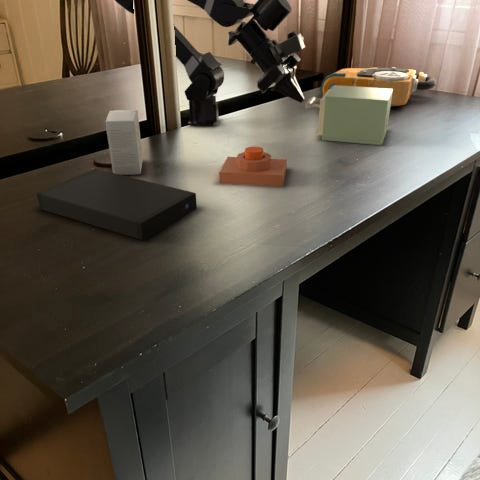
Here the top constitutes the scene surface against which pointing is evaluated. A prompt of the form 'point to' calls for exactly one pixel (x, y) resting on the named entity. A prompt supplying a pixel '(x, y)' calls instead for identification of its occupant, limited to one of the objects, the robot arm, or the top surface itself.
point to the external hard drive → (118, 203)
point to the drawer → (321, 112)
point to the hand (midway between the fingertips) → (302, 101)
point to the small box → (124, 141)
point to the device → (381, 81)
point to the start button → (254, 153)
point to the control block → (253, 171)
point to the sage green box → (356, 114)
